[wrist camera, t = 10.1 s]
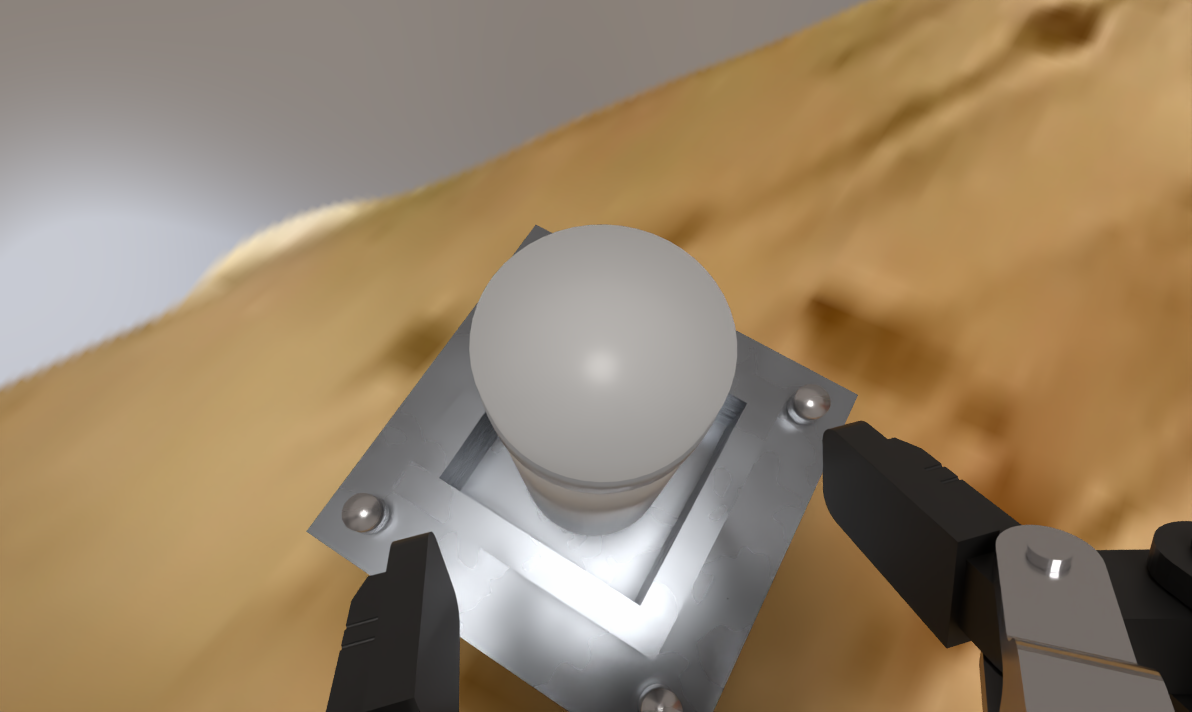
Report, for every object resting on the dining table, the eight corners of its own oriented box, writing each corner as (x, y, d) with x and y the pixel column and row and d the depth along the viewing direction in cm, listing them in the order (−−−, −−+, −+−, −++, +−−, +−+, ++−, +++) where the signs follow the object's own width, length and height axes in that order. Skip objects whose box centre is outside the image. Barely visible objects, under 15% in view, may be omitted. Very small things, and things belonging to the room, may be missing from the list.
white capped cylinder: (495, 488, 21) (410, 380, 11) (571, 373, 22) (561, 183, 12) (619, 566, 20) (657, 531, 10) (688, 441, 21) (784, 297, 11)
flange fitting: (316, 533, 21) (261, 521, 17) (537, 235, 25) (529, 177, 22) (674, 779, 18) (696, 822, 15) (848, 401, 23) (897, 366, 19)
